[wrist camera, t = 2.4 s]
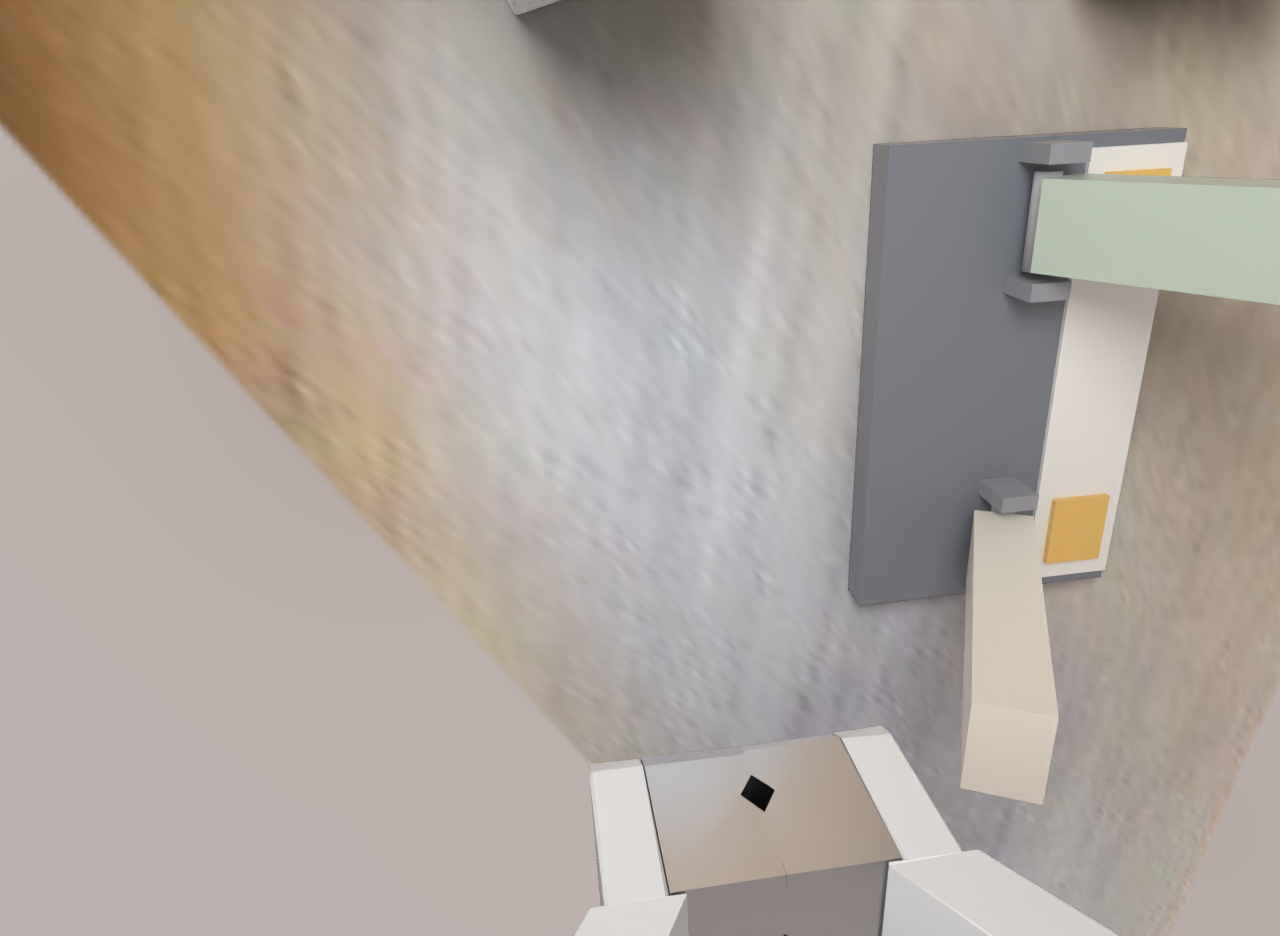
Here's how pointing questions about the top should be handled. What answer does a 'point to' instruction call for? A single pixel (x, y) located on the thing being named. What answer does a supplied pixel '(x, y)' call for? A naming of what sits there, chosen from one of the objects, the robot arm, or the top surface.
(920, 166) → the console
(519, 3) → the supplement box
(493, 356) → the top surface
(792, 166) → the top surface
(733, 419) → the top surface
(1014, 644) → the bar
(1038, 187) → the bar
